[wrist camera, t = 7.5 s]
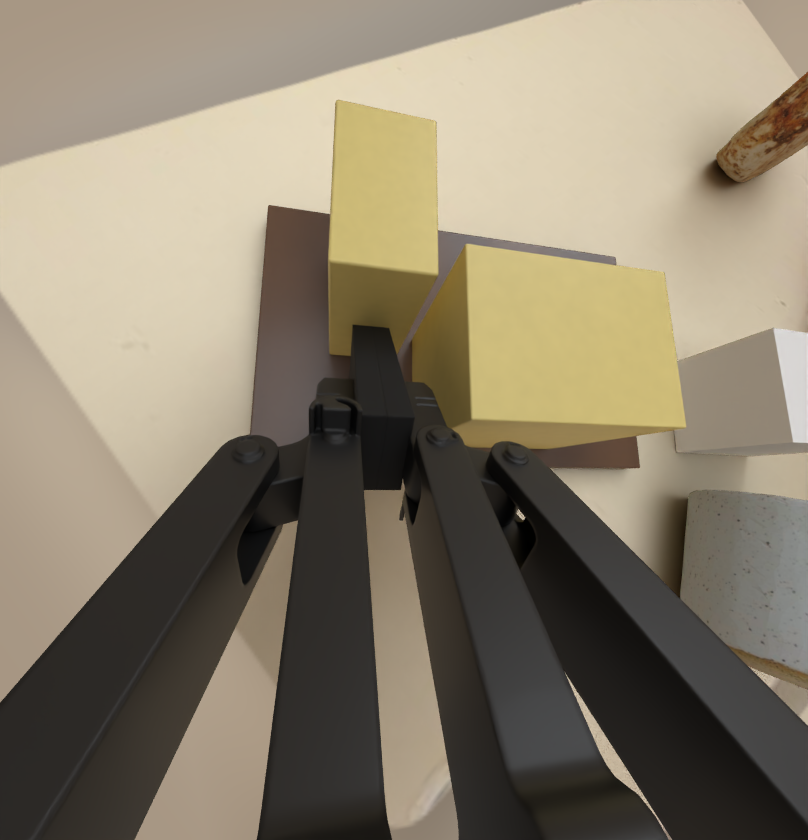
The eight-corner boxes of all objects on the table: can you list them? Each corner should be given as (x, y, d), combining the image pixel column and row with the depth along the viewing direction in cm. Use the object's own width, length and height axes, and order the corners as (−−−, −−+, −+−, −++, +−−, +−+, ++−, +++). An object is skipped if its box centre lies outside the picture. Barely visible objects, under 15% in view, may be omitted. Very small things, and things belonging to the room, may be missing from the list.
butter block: (412, 446, 18) (471, 420, 11) (411, 338, 19) (465, 242, 12) (549, 449, 20) (687, 428, 12) (542, 349, 21) (665, 271, 13)
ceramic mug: (644, 626, 20) (829, 710, 13) (656, 486, 22) (824, 489, 15) (785, 657, 22) (1018, 746, 15) (785, 525, 24) (994, 545, 16)
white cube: (748, 456, 24) (881, 448, 18) (675, 452, 23) (793, 442, 17) (735, 372, 25) (858, 339, 19) (666, 364, 24) (773, 327, 18)
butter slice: (329, 354, 18) (327, 261, 11) (333, 251, 19) (335, 97, 12) (395, 359, 19) (439, 275, 11) (396, 259, 20) (437, 119, 12)
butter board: (252, 464, 18) (247, 463, 17) (271, 217, 20) (268, 204, 19) (626, 468, 22) (640, 468, 21) (604, 265, 24) (615, 256, 23)
